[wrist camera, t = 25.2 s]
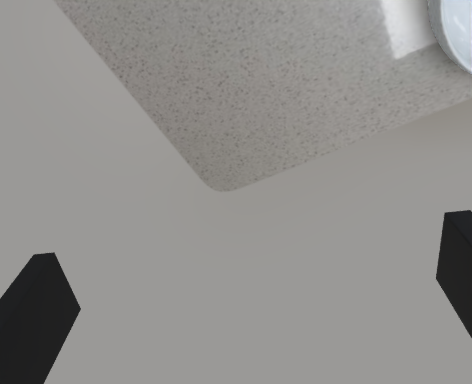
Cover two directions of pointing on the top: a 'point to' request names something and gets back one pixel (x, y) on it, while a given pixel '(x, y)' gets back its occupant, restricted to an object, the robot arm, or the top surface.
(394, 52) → the top surface
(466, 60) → the cereal bowl
